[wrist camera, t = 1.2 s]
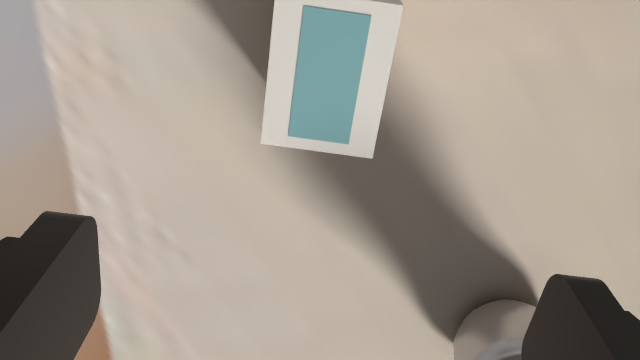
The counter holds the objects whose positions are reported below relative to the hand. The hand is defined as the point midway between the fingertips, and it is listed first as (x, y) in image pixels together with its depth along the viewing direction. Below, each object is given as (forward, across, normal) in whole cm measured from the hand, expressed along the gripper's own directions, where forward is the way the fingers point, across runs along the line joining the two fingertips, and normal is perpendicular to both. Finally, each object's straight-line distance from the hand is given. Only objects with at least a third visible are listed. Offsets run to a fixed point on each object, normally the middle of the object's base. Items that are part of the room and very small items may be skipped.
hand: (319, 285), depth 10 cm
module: (+18, 0, 0) cm, 18 cm away
